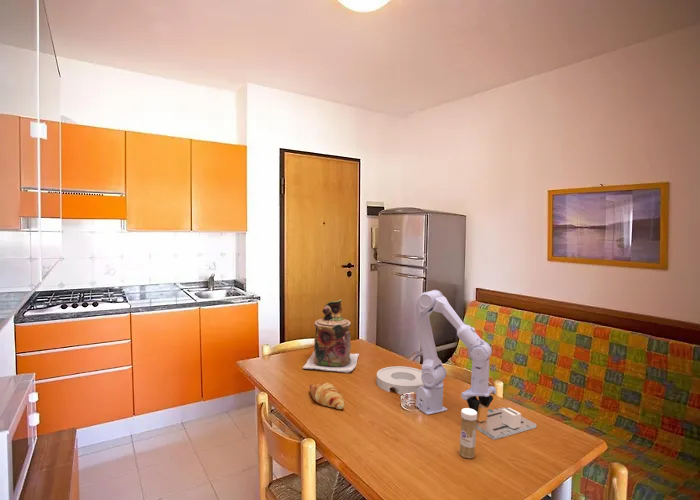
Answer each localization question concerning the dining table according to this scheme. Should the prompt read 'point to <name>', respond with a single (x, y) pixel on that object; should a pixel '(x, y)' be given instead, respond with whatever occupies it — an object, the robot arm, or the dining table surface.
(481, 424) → the console
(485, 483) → the dining table surface
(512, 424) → the fader cap
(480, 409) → the cap
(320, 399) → the croissant
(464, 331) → the robot arm
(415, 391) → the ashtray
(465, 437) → the sprinkles bottle
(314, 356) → the cookie jar
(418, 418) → the dining table surface
